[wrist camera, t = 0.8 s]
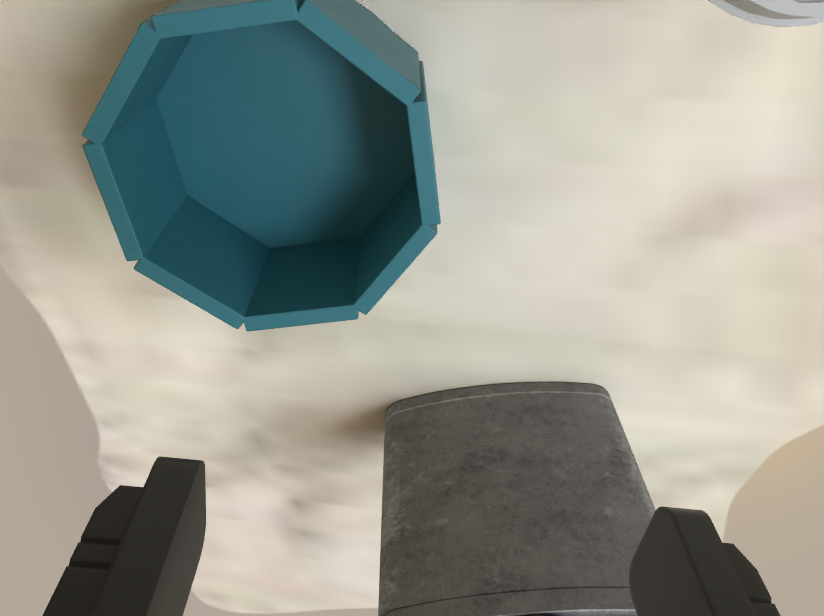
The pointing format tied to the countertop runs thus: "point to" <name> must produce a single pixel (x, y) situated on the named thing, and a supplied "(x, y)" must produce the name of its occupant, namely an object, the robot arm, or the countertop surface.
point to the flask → (509, 503)
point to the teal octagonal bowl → (268, 158)
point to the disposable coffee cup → (775, 11)
